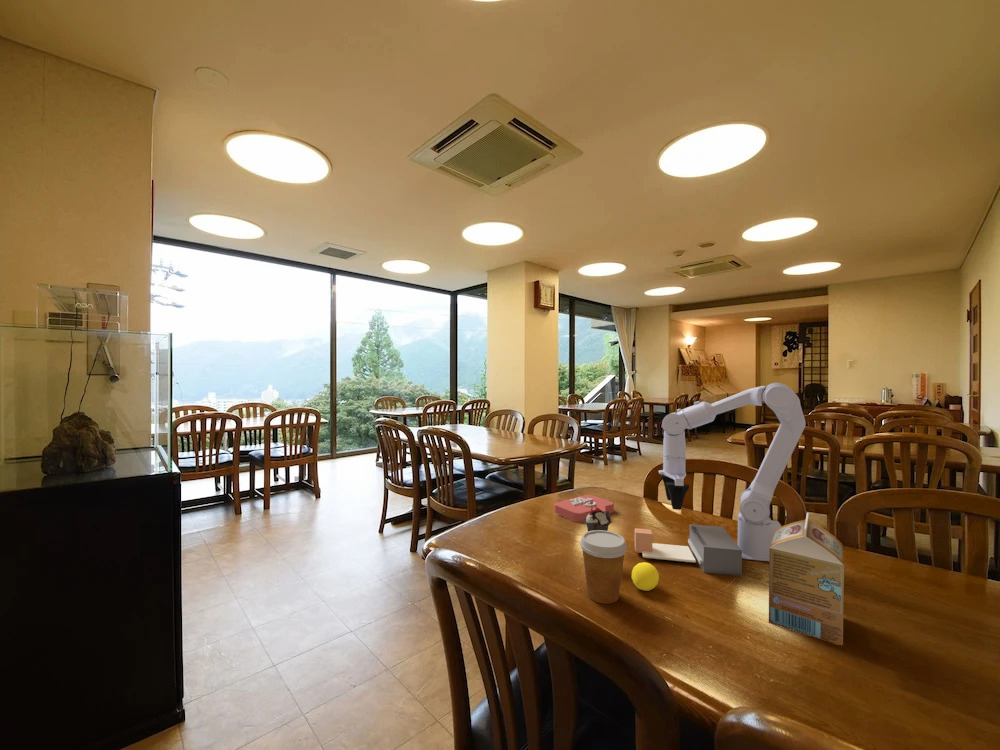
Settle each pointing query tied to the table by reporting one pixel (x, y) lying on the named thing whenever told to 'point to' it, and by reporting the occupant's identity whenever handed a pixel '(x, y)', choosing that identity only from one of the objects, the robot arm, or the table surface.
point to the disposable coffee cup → (603, 564)
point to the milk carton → (807, 581)
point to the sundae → (597, 520)
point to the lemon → (645, 576)
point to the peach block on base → (660, 548)
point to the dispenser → (715, 550)
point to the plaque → (582, 507)
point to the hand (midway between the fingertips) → (673, 504)
